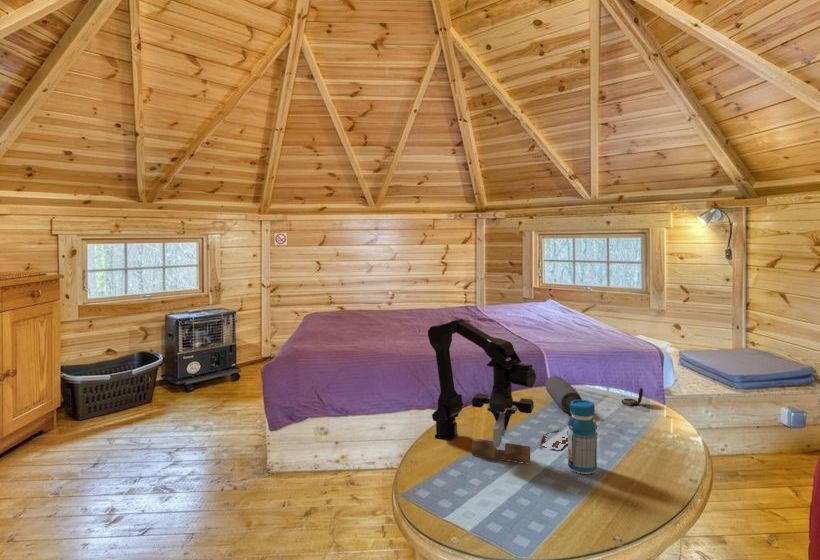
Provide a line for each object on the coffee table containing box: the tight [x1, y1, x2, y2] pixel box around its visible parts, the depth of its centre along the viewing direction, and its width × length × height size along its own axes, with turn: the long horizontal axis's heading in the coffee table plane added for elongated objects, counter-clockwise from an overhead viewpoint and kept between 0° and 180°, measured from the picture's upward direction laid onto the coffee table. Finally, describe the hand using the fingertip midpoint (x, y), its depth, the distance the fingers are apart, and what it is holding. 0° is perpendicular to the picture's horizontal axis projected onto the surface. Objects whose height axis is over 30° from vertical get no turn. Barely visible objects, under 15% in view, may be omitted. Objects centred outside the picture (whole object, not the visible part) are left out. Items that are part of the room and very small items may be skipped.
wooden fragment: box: [538, 429, 568, 449], centre depth 165 cm, size 26×11×1 cm, turn 131°
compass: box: [621, 387, 644, 407], centre depth 196 cm, size 8×8×7 cm
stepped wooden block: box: [471, 438, 531, 464], centre depth 150 cm, size 18×2×5 cm, turn 66°
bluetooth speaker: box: [544, 375, 583, 414], centre depth 196 cm, size 23×9×10 cm, turn 179°
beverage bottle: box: [567, 399, 599, 475], centre depth 142 cm, size 8×8×20 cm
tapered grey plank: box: [492, 412, 508, 448], centre depth 150 cm, size 2×12×6 cm, turn 156°
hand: (502, 429), depth 153 cm, fingers closed on tapered grey plank, 1 cm apart
